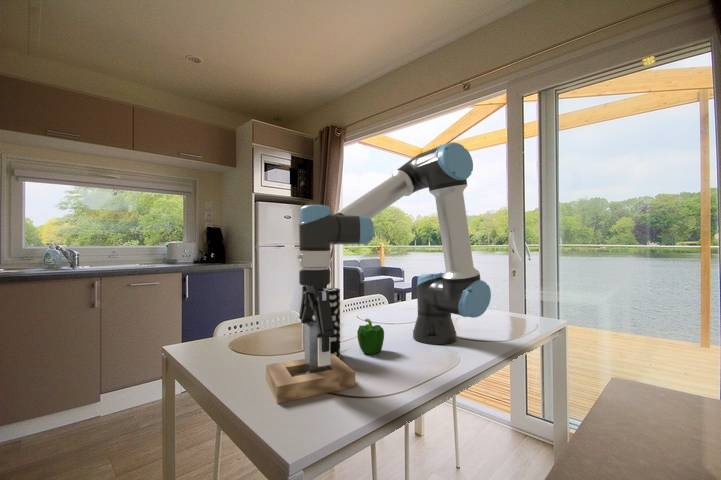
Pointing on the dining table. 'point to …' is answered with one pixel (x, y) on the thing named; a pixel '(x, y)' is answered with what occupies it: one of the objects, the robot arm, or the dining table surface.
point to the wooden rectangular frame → (307, 379)
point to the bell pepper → (370, 337)
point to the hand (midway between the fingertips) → (315, 356)
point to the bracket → (311, 350)
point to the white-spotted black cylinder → (334, 320)
